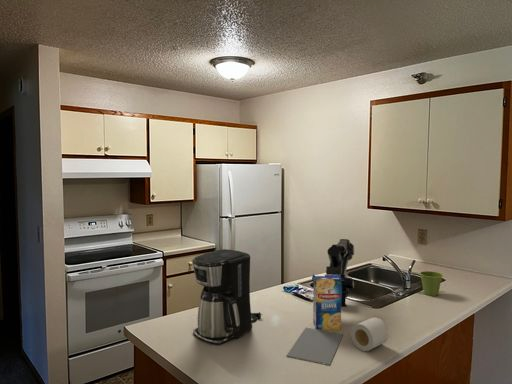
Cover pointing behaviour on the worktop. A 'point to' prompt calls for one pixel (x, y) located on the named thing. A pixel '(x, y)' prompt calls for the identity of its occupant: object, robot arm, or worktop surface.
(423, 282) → the plant pot
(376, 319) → the toilet paper
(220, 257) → the coffee maker
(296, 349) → the mat
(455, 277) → the worktop surface
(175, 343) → the worktop surface
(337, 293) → the beverage box
